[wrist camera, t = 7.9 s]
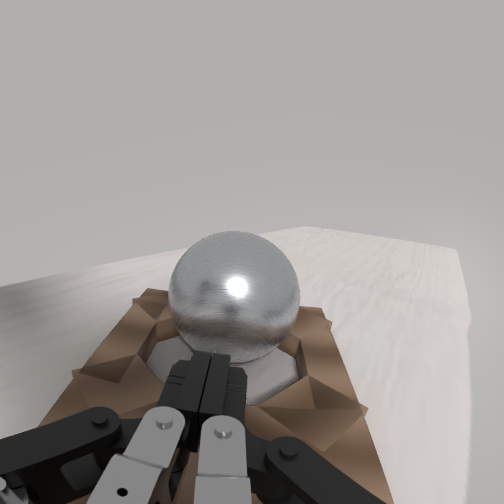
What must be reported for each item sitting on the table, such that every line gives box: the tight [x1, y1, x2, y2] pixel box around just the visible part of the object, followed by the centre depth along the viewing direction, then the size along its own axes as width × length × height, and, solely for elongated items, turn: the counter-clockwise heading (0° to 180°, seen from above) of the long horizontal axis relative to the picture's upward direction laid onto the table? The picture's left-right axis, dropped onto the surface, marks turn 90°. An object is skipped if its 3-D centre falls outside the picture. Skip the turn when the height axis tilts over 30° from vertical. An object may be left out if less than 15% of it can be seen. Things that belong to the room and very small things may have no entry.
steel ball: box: [168, 231, 300, 363], centre depth 24 cm, size 10×10×10 cm
